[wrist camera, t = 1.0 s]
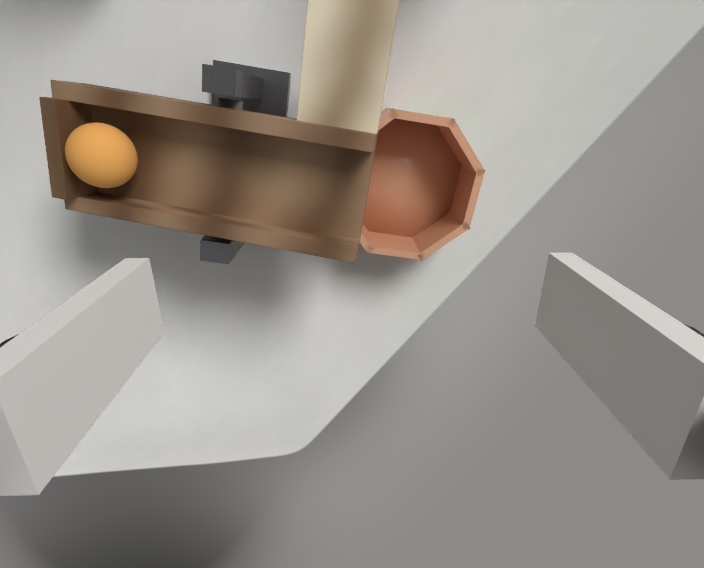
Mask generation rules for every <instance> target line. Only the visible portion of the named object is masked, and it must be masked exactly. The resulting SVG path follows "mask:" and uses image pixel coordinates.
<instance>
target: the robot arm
mask: <svg viewBox="0 0 704 568" xmlns="http://www.w3.org/2000/svg"><path fill="white" fill-rule="evenodd" d="M535 327H536V328H537V329H538V330H539V331H540V332H541V333H542V335H543V336H544V337H545V338H546V339H547V340H548V341H549V343H550V344H551V345H552V346H553V347H554V348H555V349H556V350H557V352H558V353H559V354H560V355H561V356H562V357H563V359H564V360H565V361H566V362H567V363H568V364H569V365H570V367H571V368H572V369H573V370H574V371H575V372H576V373H577V375H578V376H579V377H580V378H581V379H582V380H583V381H584V383H585V384H586V385H587V386H588V387H589V388H590V389H591V390H592V392H593V393H594V394H595V395H596V396H597V397H598V398H599V400H600V401H601V402H602V403H603V404H604V405H605V406H606V408H607V409H608V410H609V411H610V412H611V413H612V414H613V416H614V417H615V418H616V419H617V420H618V421H619V422H620V424H621V425H622V426H623V427H624V428H625V429H626V430H627V431H628V433H629V434H630V435H631V436H632V437H633V438H634V440H635V441H636V442H637V443H638V444H639V445H640V446H641V448H642V449H643V450H644V451H645V452H646V453H647V454H648V455H649V457H650V458H651V459H652V460H653V461H654V462H655V464H656V465H657V466H658V467H659V468H660V469H661V470H662V471H663V473H664V474H665V475H666V476H667V477H668V478H669V479H670V480H675V479H704V334H702V333H700V332H699V331H698V330H696V329H694V328H692V327H690V326H687V325H685V324H683V323H681V322H679V321H678V320H676V319H674V318H673V317H671V316H670V315H668V314H667V313H665V312H663V311H662V310H660V309H659V308H657V307H656V306H654V305H653V304H651V303H649V302H648V301H646V300H645V299H643V298H642V297H640V296H639V295H637V294H636V293H634V292H632V291H631V290H629V289H628V288H626V287H624V286H623V285H621V284H620V283H618V282H617V281H615V280H614V279H612V278H610V277H609V276H607V275H606V274H604V273H603V272H601V271H600V270H598V269H597V268H595V267H593V266H592V265H590V264H589V263H587V262H586V261H584V260H583V259H581V258H579V257H578V256H576V255H575V254H573V253H549V257H548V262H547V267H546V272H545V277H544V282H543V288H542V292H541V298H540V303H539V308H538V313H537V318H536V323H535ZM164 332H165V331H164V326H163V321H162V317H161V312H160V307H159V302H158V298H157V293H156V288H155V283H154V278H153V274H152V269H151V264H150V259H149V258H125V259H123V260H122V261H121V262H119V263H118V264H116V265H115V266H114V267H112V268H111V269H109V270H108V271H107V272H105V273H104V274H102V275H101V276H100V277H98V278H97V279H95V280H94V281H93V282H91V283H90V284H88V285H87V286H86V287H84V288H83V289H81V290H80V291H79V292H77V293H76V294H74V295H73V296H72V297H70V298H69V299H67V300H66V301H65V302H63V303H62V304H60V305H59V306H58V307H56V308H55V309H53V310H52V311H51V312H49V313H48V314H46V315H45V316H44V317H42V318H41V319H39V320H38V321H37V322H35V323H34V324H32V325H31V326H30V327H28V328H27V329H25V330H24V331H23V332H21V333H20V334H18V335H16V336H14V337H12V338H10V339H7V340H5V341H4V342H2V343H1V344H0V495H1V496H10V495H39V494H40V492H41V491H42V490H43V489H44V487H45V486H46V485H47V484H48V482H49V481H50V479H51V478H52V477H53V476H54V474H55V473H56V472H57V471H58V469H59V468H60V467H61V465H62V464H63V463H64V462H65V460H66V459H67V458H68V456H69V455H70V454H71V452H72V451H73V450H74V449H75V447H76V446H77V445H78V443H79V442H80V441H81V440H82V438H83V437H84V436H85V434H86V433H87V432H88V430H89V429H90V428H91V427H92V425H93V424H94V423H95V421H96V420H97V419H98V418H99V416H100V415H101V414H102V412H103V411H104V410H105V408H106V407H107V406H108V405H109V403H110V402H111V401H112V399H113V398H114V397H115V396H116V394H117V393H118V392H119V390H120V389H121V388H122V386H123V385H124V384H125V383H126V381H127V380H128V379H129V377H130V376H131V375H132V374H133V372H134V371H135V370H136V368H137V367H138V366H139V365H140V363H141V362H142V361H143V359H144V358H145V357H146V355H147V354H148V353H149V352H150V350H151V349H152V348H153V346H154V345H155V344H156V343H157V341H158V340H159V339H160V337H161V336H162V335H163V333H164Z"/></svg>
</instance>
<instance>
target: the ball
mask: <svg viewBox="0 0 704 568" xmlns="http://www.w3.org/2000/svg"><path fill="white" fill-rule="evenodd" d="M65 157H66V160H67V163H68V165H69V167H70V169H71V170H72V171H73V172H74V174H75V175H76V176H77V177H78V178H80V179H81V180H83V181H84V182H86V183H88V184H90V185H92V186H96V187H100V188H113V187H118V186H120V185H123V184H124V183H126V182H127V181H129V180H130V179H131V178H132V176H133V175H134V173H135V171H136V169H137V164H138V156H137V152H136V149H135V146H134V144H133V143H132V141H131V140H130V139H129V138H128V136H127V135H126V134H125V133H123V132H122V131H121V130H119V129H117V128H116V127H113V126H111V125H108V124H104V123H88V124H84V125H81V126H79V127H78V128H76V129H75V130H74V131H73V132H72V133H71V134H70V135H69V137H68V138H67V141H66V144H65Z"/></svg>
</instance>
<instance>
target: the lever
mask: <svg viewBox="0 0 704 568" xmlns="http://www.w3.org/2000/svg"><path fill="white" fill-rule="evenodd" d="M399 2H400V0H308V8H307V18H306V29H305V39H304V50H303V61H302V71H301V82H300V93H299V103H298V114H297V119H293V118H287V117H281V116H275V115H269V114H263V113H257V112H251V111H245V110H243V101H237V100H231V99H225V98H218V106H216V105H210V104H204V103H198V102H192V101H186V100H180V99H174V98H168V97H162V96H156V95H151V94H145V93H139V92H133V91H127V90H121V89H115V88H109V87H103V86H97V85H91V84H85V83H76V82H66V81H56V80H51V88H52V97H53V98H49V97H39V98H40V105H41V113H42V121H43V129H44V137H45V145H46V152H47V160H48V168H49V176H50V184H51V192H52V197H54V198H60V199H64V200H65V208H66V209H68V210H73V211H79V212H84V213H89V214H95V215H100V216H106V217H111V218H116V219H122V220H127V221H132V222H138V223H143V224H149V225H154V226H159V227H165V228H170V229H175V230H181V231H186V232H192V233H197V234H202V235H208V236H213V237H218V238H224V239H229V240H235V241H240V242H245V243H251V244H256V245H261V246H267V247H272V248H277V249H283V250H288V251H294V252H299V253H304V254H310V255H315V256H320V257H326V258H331V259H337V260H342V261H347V262H353V263H354V261H355V258H356V255H357V253H358V250H359V244H360V238H361V232H362V226H363V220H364V214H365V208H366V202H367V196H368V190H369V184H370V178H371V172H372V166H373V160H374V154H375V148H376V142H377V136H378V128H379V122H380V116H381V110H382V104H383V98H384V92H385V86H386V80H387V74H388V68H389V62H390V56H391V50H392V44H393V38H394V32H395V26H396V20H397V14H398V8H399ZM88 123H104V124H108V125H111V126H113V127H116V128H117V129H119V130H121V131H122V132H123V133H125V134H126V135H127V136H128V138H129V139H130V140H131V141H132V143H133V144H134V146H135V149H136V152H137V156H138V164H137V169H136V171H135V173H134V175H133V176H132V178H131V179H130V180H129V181H127V182H126V183H124V184H123V185H120V186H118V187H113V188H100V187H96V186H92V185H90V184H88V183H86V182H84V181H83V180H81V179H80V178H78V177H77V176H76V175H75V174H74V172H73V171H72V170H71V169H70V167H69V165H68V163H67V160H66V157H65V144H66V141H67V138H68V137H69V135H70V134H71V133H72V132H73V131H74V130H75V129H76V128H78V127H79V126H81V125H84V124H88Z"/></svg>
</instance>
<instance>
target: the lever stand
mask: <svg viewBox="0 0 704 568" xmlns="http://www.w3.org/2000/svg"><path fill="white" fill-rule="evenodd" d="M290 78H291V74H290V73H287V72H281V71H275V70H269V69H263V68H257V67H251V66H245V65H240V64H234V63H228V62H222V61H216V60H213V66H212V65H206V64H202V92H209V93H213V105H216V106H218V98H225V99H231V100H237V101H243V110H245V111H251V112H257V113H263V114H269V115H275V116H281V117H287V113H288V101H289V90H290ZM244 243H245V242H240V241H235V240H229V239H224V238H218V237H213V236H208V235H206V236H204V237H203V238H202V239H201V240H200V260H202V261H209V262H217V263H224V264H229V263H230V262H231V260H232V259H233V258H234V256H235V255H236V254H237V252H238V251H239V249H240V248H241V247H242V245H243V244H244Z"/></svg>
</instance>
